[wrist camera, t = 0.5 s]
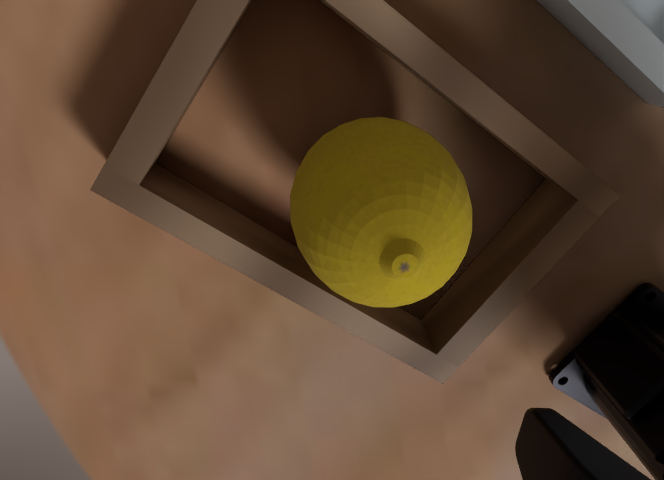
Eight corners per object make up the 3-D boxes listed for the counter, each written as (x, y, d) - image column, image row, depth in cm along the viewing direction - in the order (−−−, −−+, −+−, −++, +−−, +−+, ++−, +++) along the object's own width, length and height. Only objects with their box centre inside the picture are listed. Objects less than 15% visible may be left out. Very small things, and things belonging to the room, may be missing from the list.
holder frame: (583, 174, 21) (620, 195, 19) (427, 347, 24) (442, 383, 22) (258, -91, 16) (255, -105, 14) (111, 167, 19) (90, 189, 17)
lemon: (301, 83, 19) (319, 138, 11) (447, 113, 20) (548, 182, 12) (276, 224, 21) (276, 345, 14) (408, 245, 22) (473, 368, 14)
